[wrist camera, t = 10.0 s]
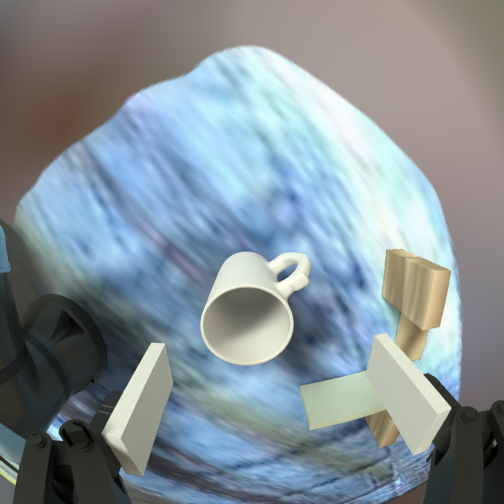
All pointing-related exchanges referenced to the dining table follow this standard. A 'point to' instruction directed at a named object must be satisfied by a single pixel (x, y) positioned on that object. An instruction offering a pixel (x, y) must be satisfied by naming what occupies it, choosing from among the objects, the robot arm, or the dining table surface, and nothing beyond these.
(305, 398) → the gate door
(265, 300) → the mug
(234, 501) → the dining table surface
